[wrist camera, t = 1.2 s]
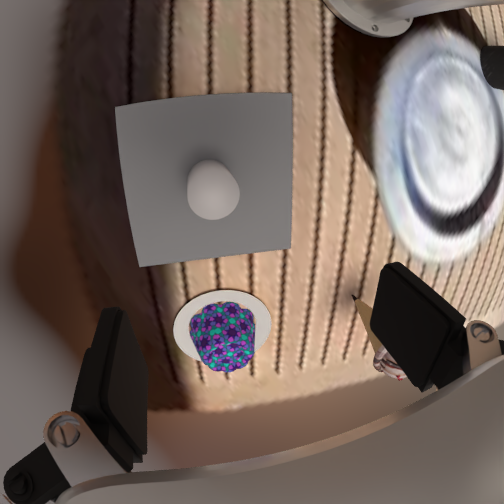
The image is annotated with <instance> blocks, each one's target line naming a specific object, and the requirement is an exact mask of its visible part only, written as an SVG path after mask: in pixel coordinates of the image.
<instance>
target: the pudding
mask: <svg viewBox="0 0 504 504" xmlns="http://www.w3.org/2000/svg"><path fill="white" fill-rule="evenodd" d="M219 301H232V302H226V303H224V304H222V305H218V304H211V303H214V302H219ZM234 302H237V303H240V304H242V305H244V306H246V307H247V308H249V309H250V310H251V311H252V313H253V314H254V316H255V319H256V329H255V324H254V323H253V315H252V313H251V311H249V310H248V309H241V308H240V307H239V305H238V304H236V303H234ZM208 304H210V305H208ZM206 305H207V306H206ZM204 306H206V307H204ZM202 307H204V308H203V310H202V313H200V314H197V315H194V314H195V313H196V312H197V311H198V310H199V309H201V308H202ZM193 315H194V317H193V318H192V316H193ZM191 318H192V319H191ZM190 320H191V323H190V324H191V326H192V330H191V331H190V335H189V329H188V327H189V322H190ZM270 331H271V317H270V313H269V311H268V309H267V308H266V306H265V305H264V304H263V303H262V302H261V301H260V300H258V299H257V298H256V297H254V296H252V295H250V294H247V293H244V292H240V291H233V290H219V291H214V292H209V293H206V294H203V295H201V296H199V297H197V298H195V299H193V300H191V301H190V302H189V303H187V304H186V305H185V306H184V307H183V308H182V309H181V310H180V312H179V313H178V315H177V317H176V319H175V322H174V328H173V332H174V338H175V340H176V343H177V344H178V346H179V347H180V349H181V350H182V351H183V352H184V353H186V354H187V355H188V356H190V357H192V358H194V359H196V360H199V361H202V362H203V363H204V364H205V365H208V367H209V368H210V369H212V370H213V371H224V372H232V371H234V370H236V369H241V368H243V367H245V366H246V365H247V364H248V361H249V360H250V359H252V357H253V355H254V352H256V351H257V350H258V349H259V348H260V347H261V346H262V345H263V344H264V343H265V341H266V339H267V338H268V336H269V333H270Z"/></svg>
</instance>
